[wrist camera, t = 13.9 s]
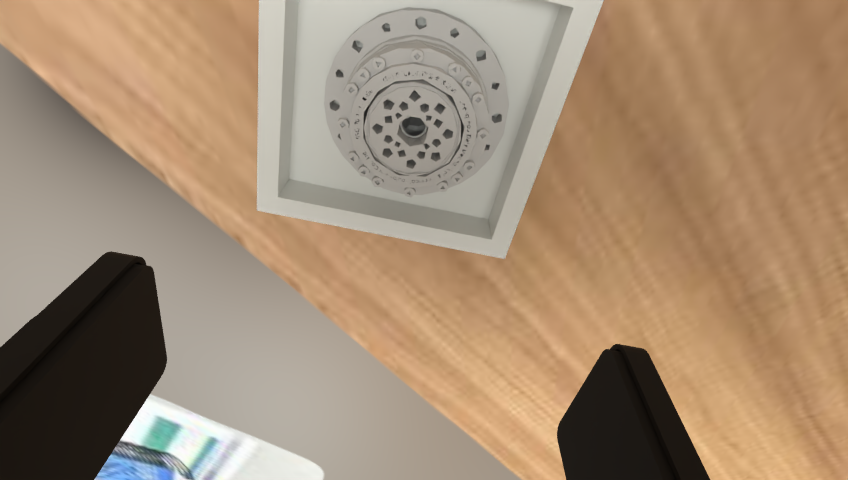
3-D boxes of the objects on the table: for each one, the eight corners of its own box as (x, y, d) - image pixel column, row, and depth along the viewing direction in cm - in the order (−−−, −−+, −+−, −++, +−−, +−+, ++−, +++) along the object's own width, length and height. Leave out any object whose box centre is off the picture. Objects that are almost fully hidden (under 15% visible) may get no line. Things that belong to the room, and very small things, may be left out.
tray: (590, -21, 23) (609, -16, 20) (499, 231, 31) (504, 258, 29) (282, -99, 22) (260, -104, 19) (273, 186, 30) (256, 210, 27)
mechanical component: (540, 113, 26) (425, -42, 22) (557, 142, 22) (422, -38, 18) (410, 211, 30) (293, 94, 26) (406, 250, 26) (268, 120, 22)
